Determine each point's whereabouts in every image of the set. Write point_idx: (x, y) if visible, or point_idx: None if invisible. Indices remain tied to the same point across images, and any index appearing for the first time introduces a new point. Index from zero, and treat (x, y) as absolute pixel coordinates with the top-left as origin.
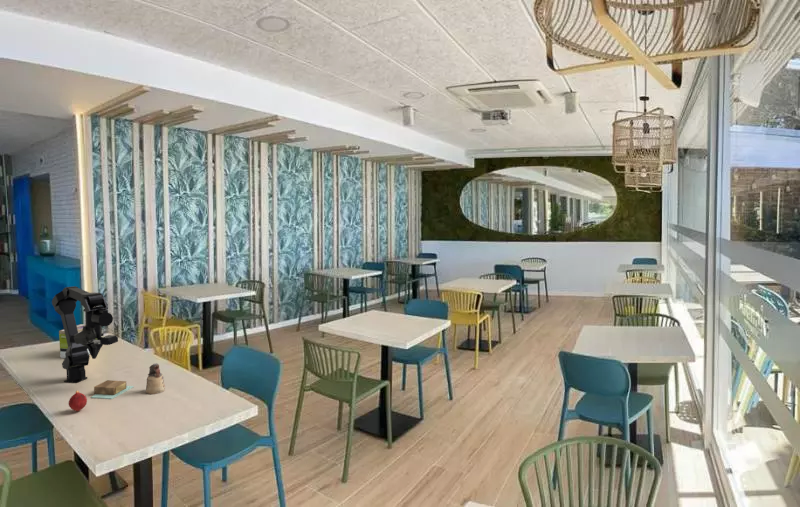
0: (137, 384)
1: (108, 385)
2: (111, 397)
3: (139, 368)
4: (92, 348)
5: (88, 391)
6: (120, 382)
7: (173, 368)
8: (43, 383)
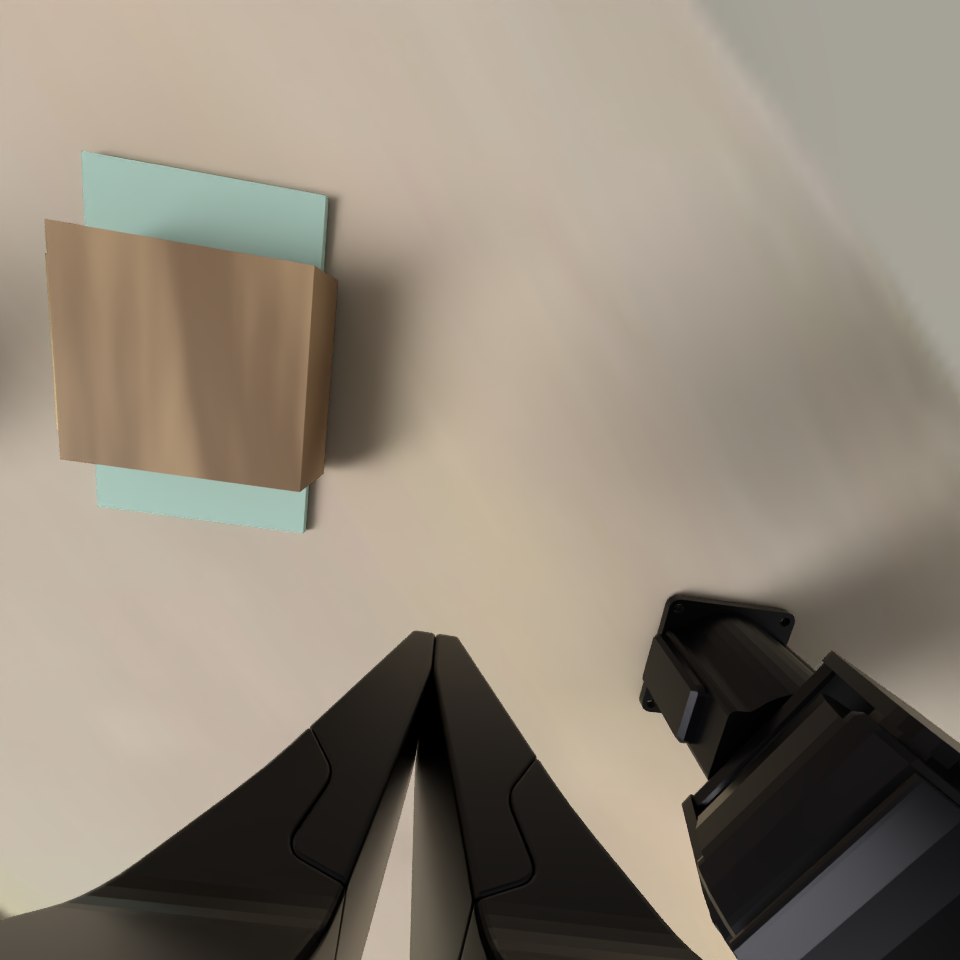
0: (117, 572)
1: (168, 309)
2: (96, 175)
3: None
4: (352, 864)
5: (456, 388)
6: (98, 417)
7: None
8: (940, 582)
